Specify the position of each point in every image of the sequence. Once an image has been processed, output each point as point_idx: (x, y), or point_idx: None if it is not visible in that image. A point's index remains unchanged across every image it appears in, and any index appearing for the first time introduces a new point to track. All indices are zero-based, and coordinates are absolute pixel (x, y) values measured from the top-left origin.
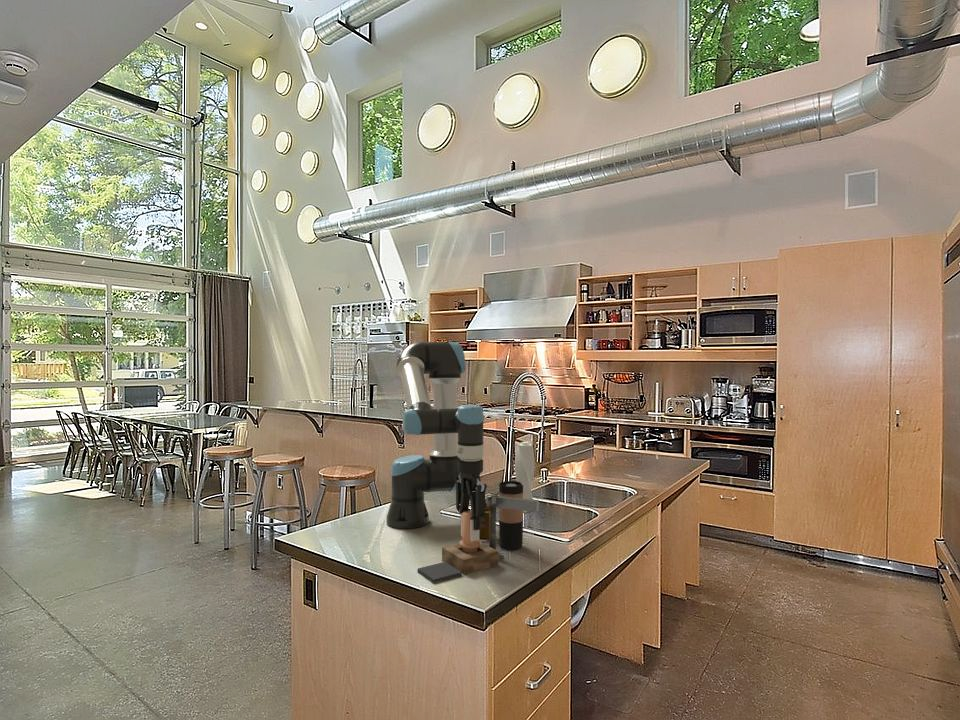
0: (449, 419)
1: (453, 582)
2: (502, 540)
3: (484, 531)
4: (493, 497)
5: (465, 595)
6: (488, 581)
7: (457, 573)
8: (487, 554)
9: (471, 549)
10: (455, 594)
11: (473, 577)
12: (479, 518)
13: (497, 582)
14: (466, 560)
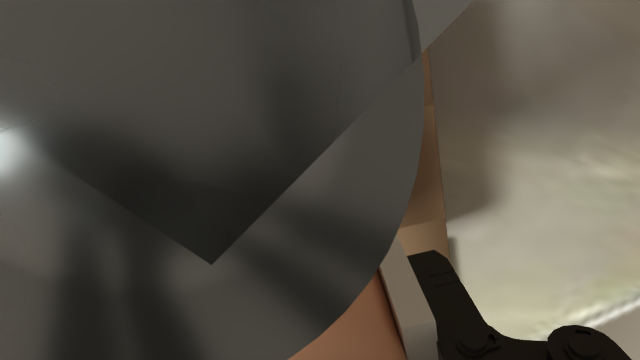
0: None
1: (480, 284)
2: None
3: None
4: (364, 208)
5: (609, 274)
6: (556, 152)
7: None
8: (434, 121)
9: None
10: (578, 302)
11: (479, 200)
12: (509, 348)
13: (591, 117)
14: (447, 253)
